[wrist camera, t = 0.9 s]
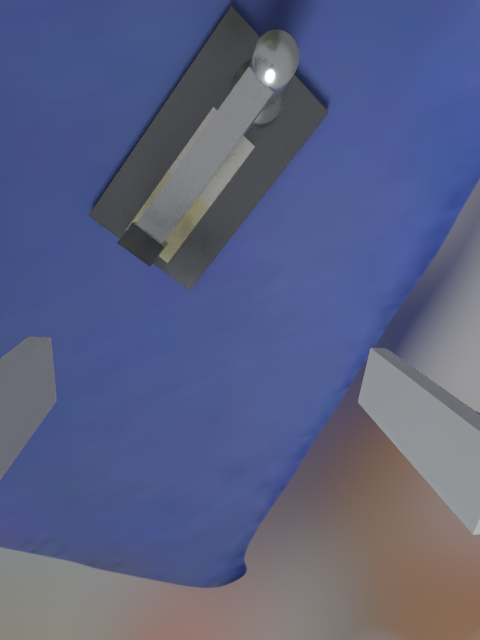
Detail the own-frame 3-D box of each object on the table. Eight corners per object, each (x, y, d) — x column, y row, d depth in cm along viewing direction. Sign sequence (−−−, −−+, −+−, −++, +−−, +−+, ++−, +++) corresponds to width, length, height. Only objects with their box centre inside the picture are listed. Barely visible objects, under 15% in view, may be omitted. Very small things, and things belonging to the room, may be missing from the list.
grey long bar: (259, 58, 28) (274, 17, 22) (286, 87, 29) (308, 55, 23) (130, 237, 31) (114, 242, 25) (158, 258, 32) (149, 268, 26)
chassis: (91, 215, 32) (84, 215, 30) (230, 12, 29) (232, -4, 26) (189, 288, 36) (189, 292, 33) (324, 115, 32) (333, 108, 30)
